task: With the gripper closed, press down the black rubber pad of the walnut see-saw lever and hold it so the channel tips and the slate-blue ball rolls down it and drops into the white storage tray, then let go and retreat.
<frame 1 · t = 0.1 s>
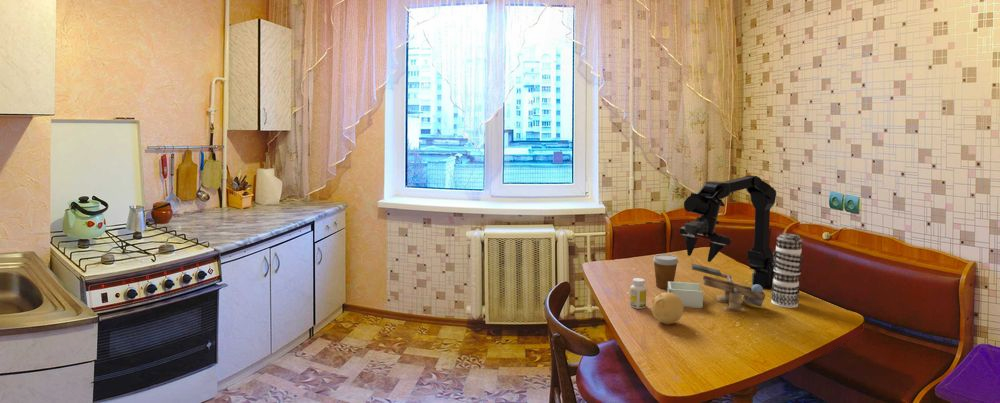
hand: (698, 258, 180), 15 cm above the table, tool pointing down, fingers open, 9 cm apart
supplement bottle: (637, 306, 177), on the table
fulcrum stand: (729, 300, 182), on the table
stress ball: (666, 323, 162), on the table
lever: (725, 285, 180), point 6 cm above the table, hinge at -12.0°, touching ball
disposable coffee cup: (664, 286, 198), on the table
decorative candle: (784, 304, 178), on the table
ball: (757, 289, 173), point 7 cm above the table, tilted 25°, touching lever
white storage tray: (684, 302, 180), on the table
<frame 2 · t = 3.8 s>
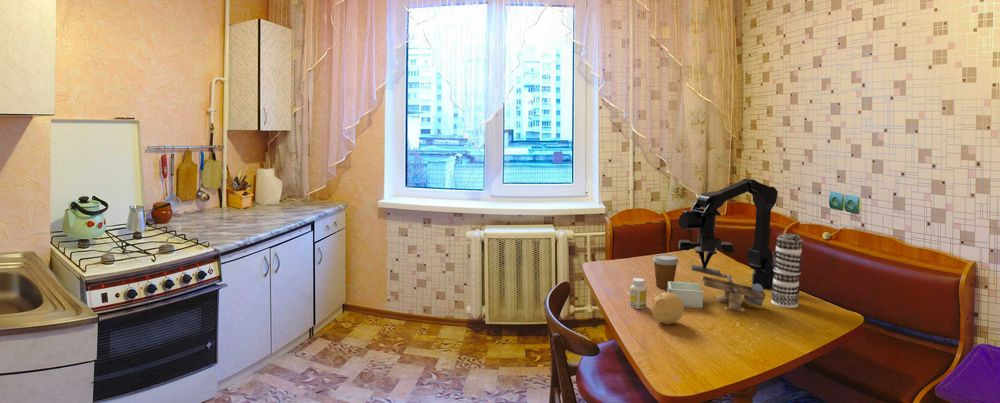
hand: (704, 268, 188), 10 cm above the table, tool pointing down, fingers closed, pressing on lever
lever: (725, 285, 180), point 6 cm above the table, hinge at -10.4°, touching ball, gripper
everything else where it was.
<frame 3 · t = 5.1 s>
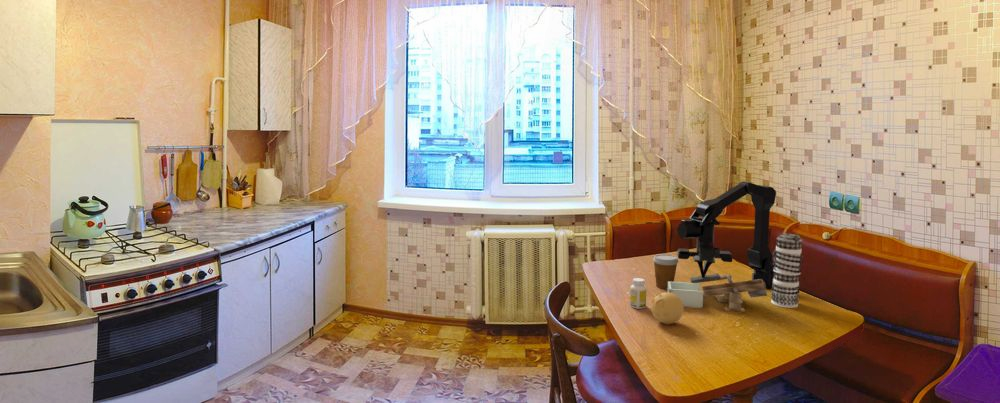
hand: (702, 277, 189), 6 cm above the table, tool pointing down, fingers closed
lever: (727, 287, 180), point 5 cm above the table, hinge at 12.6°, touching gripper
ball: (675, 295, 181), point 2 cm above the table, tilted 171°, touching white storage tray
everything else where it was.
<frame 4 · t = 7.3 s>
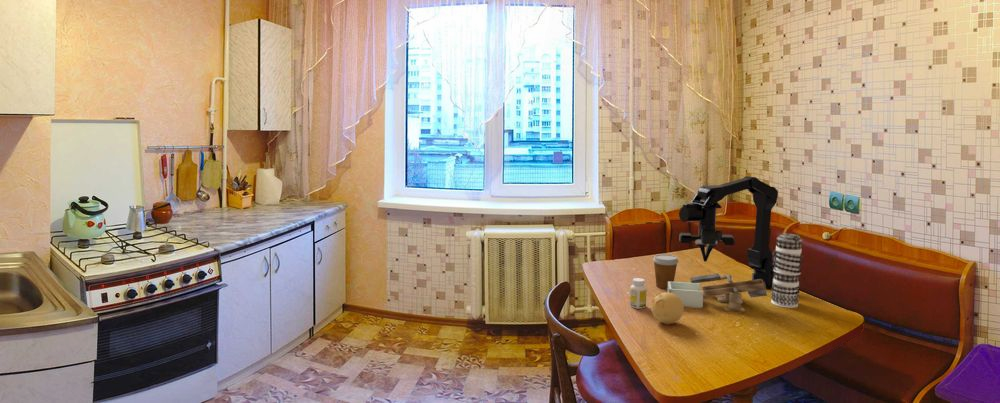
hand: (705, 261, 188), 12 cm above the table, tool pointing down, fingers closed
lever: (727, 287, 180), point 5 cm above the table, hinge at 12.6°
ball: (676, 295, 180), point 2 cm above the table, tilted 155°, touching white storage tray
everything else where it was.
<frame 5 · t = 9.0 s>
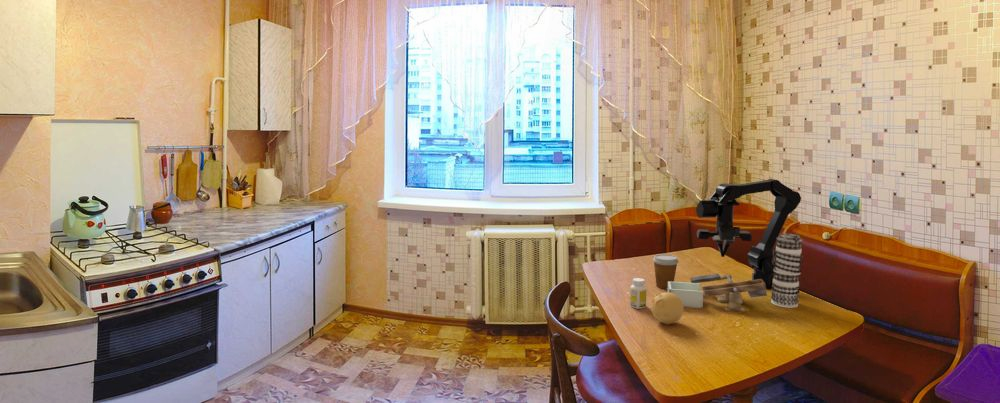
hand: (722, 256, 193), 13 cm above the table, tool pointing down, fingers closed
ball: (678, 295, 180), point 2 cm above the table, tilted 143°, touching white storage tray
everything else where it was.
at the end: ball inside the target area on the white storage tray (2.2 cm from its centre), point 2.3 cm above the white storage tray's base; ball touching white storage tray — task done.
